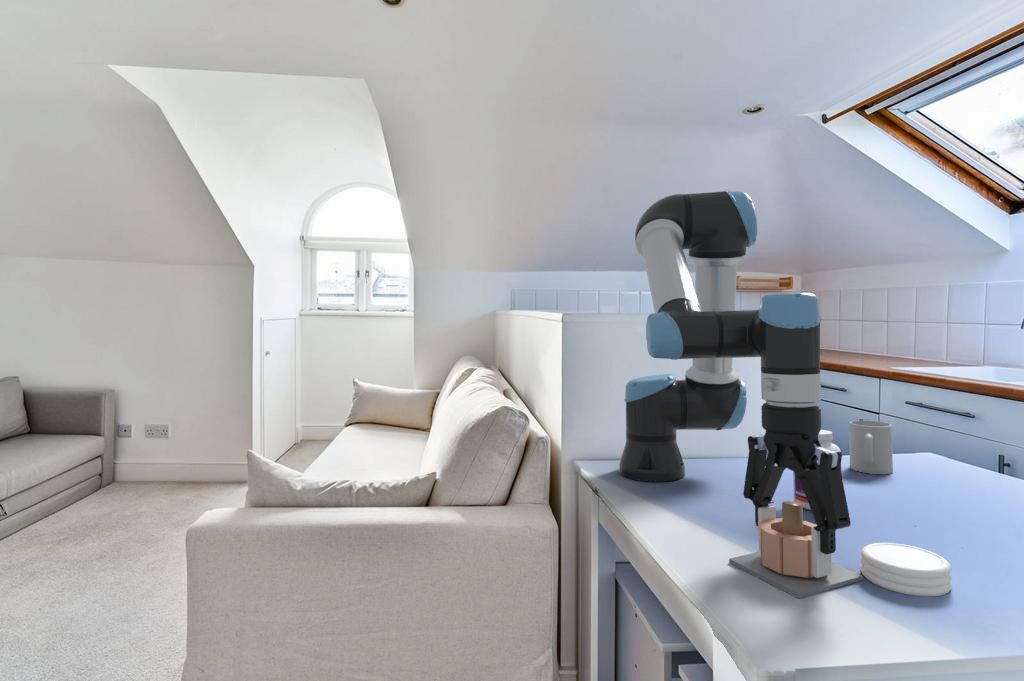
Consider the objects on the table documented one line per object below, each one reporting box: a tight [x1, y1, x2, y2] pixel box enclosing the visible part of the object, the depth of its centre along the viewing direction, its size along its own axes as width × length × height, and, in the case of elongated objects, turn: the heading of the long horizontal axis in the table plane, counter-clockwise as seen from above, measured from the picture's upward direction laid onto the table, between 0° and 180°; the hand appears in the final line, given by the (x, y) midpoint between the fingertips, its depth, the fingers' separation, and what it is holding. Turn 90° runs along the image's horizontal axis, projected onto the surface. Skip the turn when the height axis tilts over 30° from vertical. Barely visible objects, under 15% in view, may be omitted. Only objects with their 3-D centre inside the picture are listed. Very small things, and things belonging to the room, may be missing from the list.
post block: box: [728, 500, 864, 599], centre depth 78 cm, size 12×12×10 cm
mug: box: [848, 420, 894, 475], centre depth 128 cm, size 12×8×11 cm
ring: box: [760, 517, 817, 578], centre depth 79 cm, size 8×8×5 cm
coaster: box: [860, 542, 953, 598], centre depth 75 cm, size 10×10×4 cm
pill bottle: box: [792, 429, 842, 511], centre depth 105 cm, size 8×8×14 cm
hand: (793, 561), depth 79 cm, fingers closed on ring, 8 cm apart
